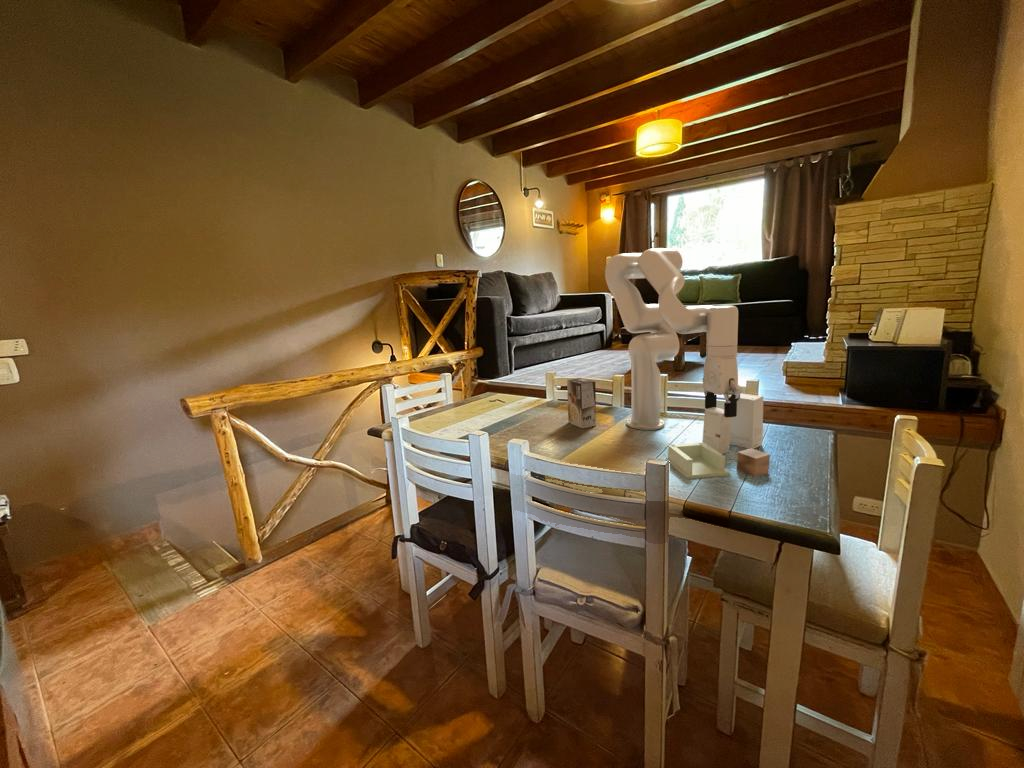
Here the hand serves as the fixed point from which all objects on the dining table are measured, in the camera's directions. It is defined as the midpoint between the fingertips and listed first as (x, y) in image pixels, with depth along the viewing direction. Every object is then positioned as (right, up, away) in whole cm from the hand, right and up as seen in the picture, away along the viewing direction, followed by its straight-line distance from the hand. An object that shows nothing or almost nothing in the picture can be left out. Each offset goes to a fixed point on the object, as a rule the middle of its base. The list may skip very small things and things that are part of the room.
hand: (720, 412), depth 118 cm
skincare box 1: (0, -11, +3) cm, 12 cm away
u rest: (-10, -14, -7) cm, 19 cm away
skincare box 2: (+10, -10, +7) cm, 16 cm away
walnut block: (+2, -14, -11) cm, 18 cm away
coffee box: (-33, -7, +33) cm, 47 cm away
